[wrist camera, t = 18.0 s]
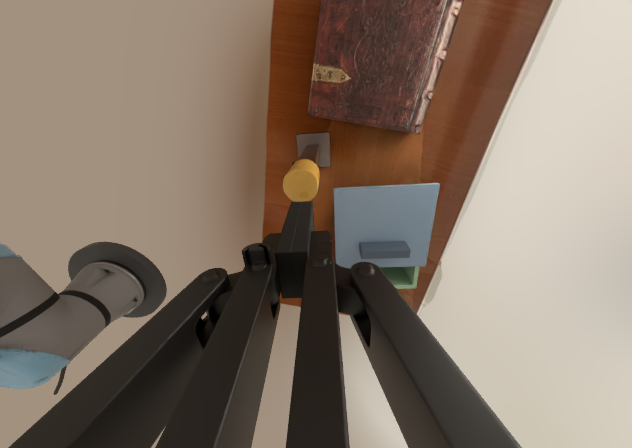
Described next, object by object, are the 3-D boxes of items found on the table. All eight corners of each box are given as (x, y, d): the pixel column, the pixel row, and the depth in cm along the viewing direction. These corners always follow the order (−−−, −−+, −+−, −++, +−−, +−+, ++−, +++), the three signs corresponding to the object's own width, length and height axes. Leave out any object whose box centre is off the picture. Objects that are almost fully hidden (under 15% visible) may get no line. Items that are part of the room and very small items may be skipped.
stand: (299, 166, 44) (281, 200, 26) (296, 134, 42) (274, 146, 24) (330, 165, 44) (333, 198, 26) (329, 131, 41) (331, 143, 23)
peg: (298, 192, 26) (292, 208, 21) (285, 166, 25) (276, 177, 20) (324, 181, 25) (323, 195, 21) (312, 154, 24) (309, 162, 19)
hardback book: (411, 133, 41) (422, 134, 36) (309, 115, 40) (307, 115, 36) (488, -111, 29) (518, -154, 24) (341, -141, 28) (344, -190, 24)
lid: (335, 266, 44) (336, 278, 40) (333, 187, 37) (334, 194, 34) (424, 263, 43) (432, 276, 39) (437, 182, 36) (449, 189, 33)
